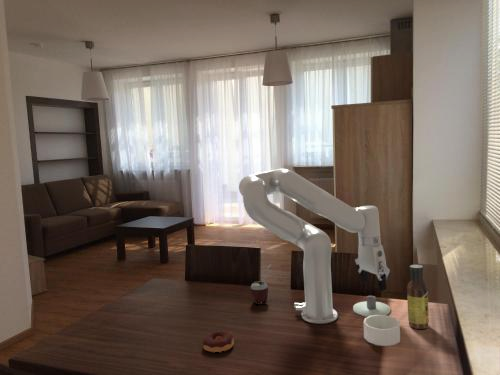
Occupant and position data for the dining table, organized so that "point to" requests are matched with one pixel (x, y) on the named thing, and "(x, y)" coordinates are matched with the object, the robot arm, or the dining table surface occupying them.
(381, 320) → the bowl
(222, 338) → the donut
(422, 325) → the sauce bottle
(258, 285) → the mate gourd
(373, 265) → the robot arm
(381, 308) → the lid
